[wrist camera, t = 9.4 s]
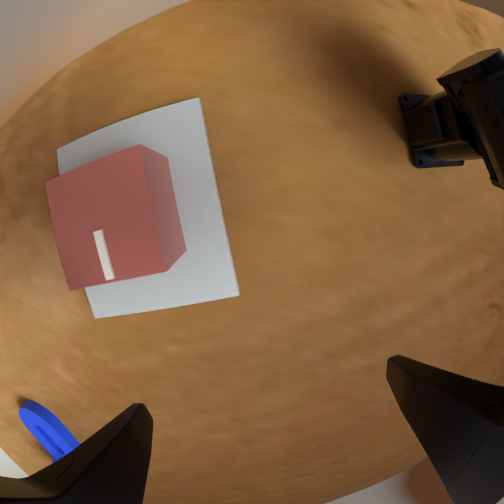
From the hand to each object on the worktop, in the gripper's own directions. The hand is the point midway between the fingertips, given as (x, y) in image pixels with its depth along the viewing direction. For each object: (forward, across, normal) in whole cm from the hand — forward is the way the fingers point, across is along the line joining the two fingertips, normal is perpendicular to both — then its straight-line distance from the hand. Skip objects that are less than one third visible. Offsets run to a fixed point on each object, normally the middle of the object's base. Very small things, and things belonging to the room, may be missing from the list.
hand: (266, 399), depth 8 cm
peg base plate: (+12, +7, -7) cm, 16 cm away
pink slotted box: (+11, +7, -7) cm, 15 cm away
